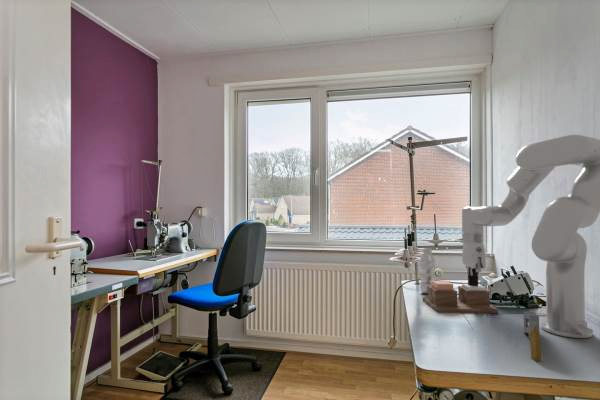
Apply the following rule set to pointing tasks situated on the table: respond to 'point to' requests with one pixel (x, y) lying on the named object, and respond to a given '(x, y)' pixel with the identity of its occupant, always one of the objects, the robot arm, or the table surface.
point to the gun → (533, 334)
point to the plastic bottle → (426, 270)
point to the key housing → (459, 301)
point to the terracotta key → (442, 285)
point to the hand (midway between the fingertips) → (473, 285)
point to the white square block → (473, 287)
